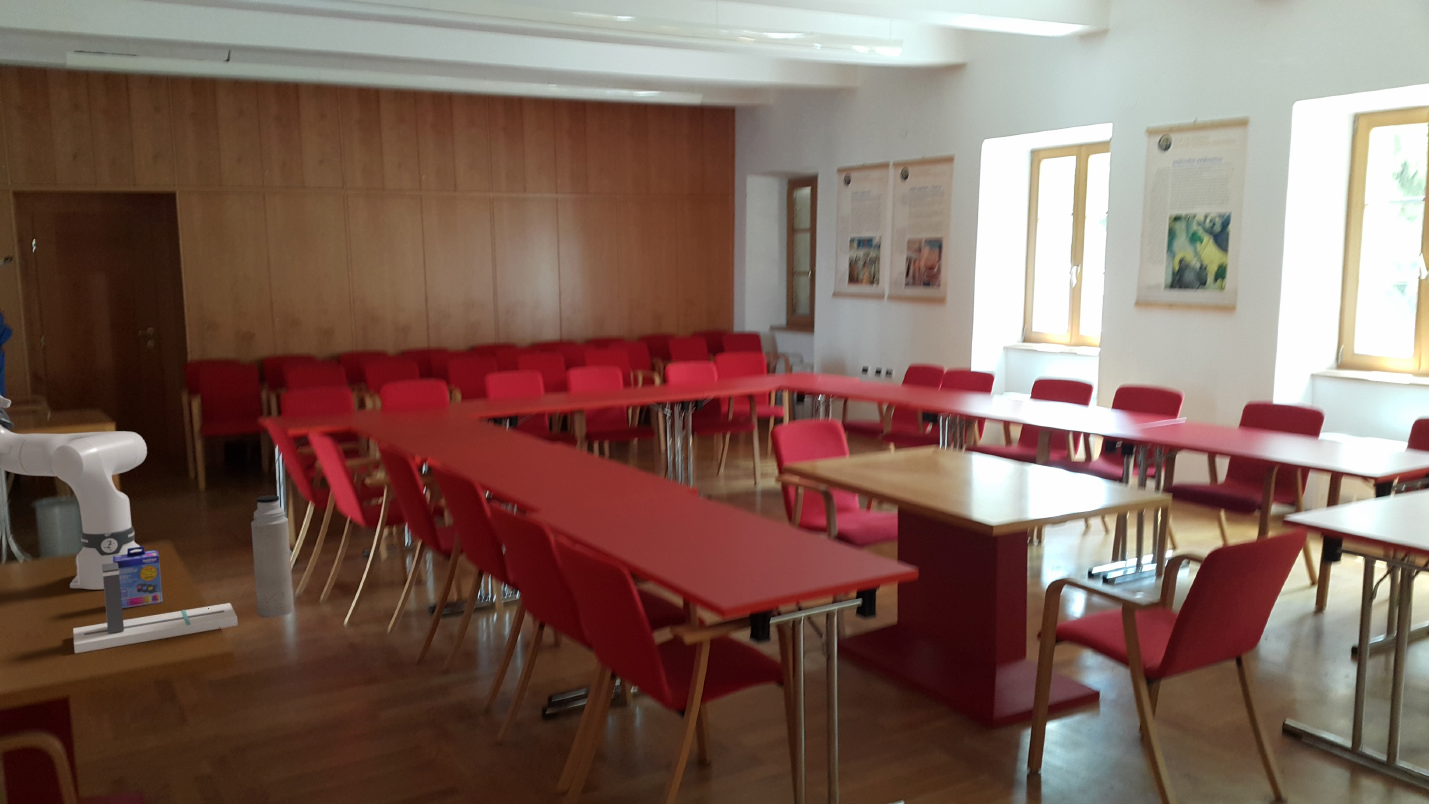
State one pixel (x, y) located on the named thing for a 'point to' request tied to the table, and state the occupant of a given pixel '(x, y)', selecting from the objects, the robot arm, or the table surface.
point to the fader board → (155, 627)
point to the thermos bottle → (272, 559)
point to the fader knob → (112, 597)
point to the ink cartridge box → (139, 577)
